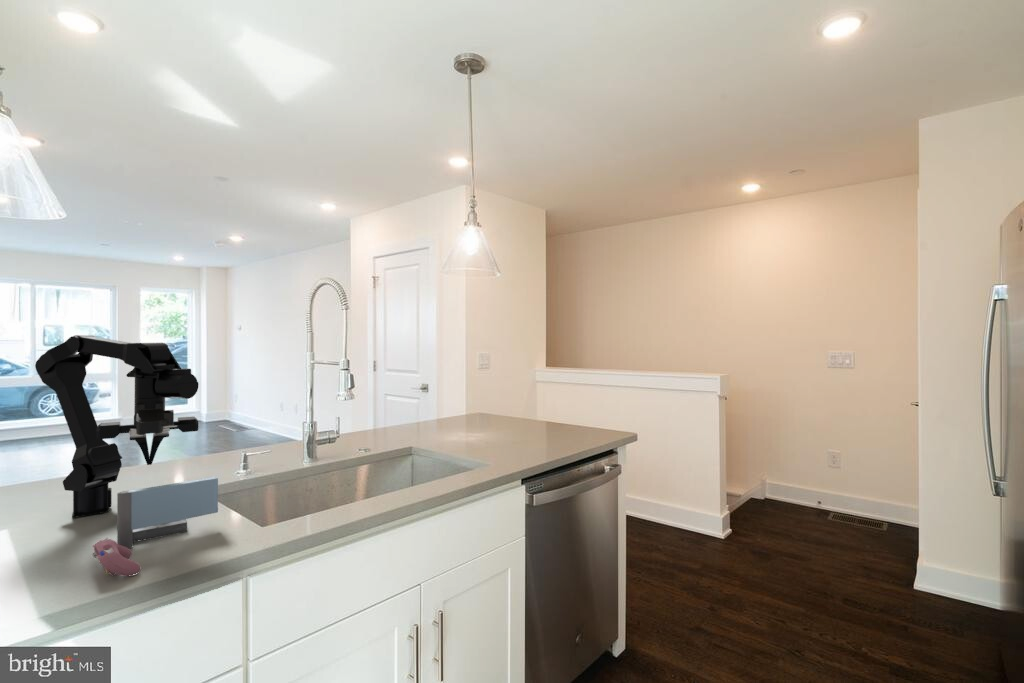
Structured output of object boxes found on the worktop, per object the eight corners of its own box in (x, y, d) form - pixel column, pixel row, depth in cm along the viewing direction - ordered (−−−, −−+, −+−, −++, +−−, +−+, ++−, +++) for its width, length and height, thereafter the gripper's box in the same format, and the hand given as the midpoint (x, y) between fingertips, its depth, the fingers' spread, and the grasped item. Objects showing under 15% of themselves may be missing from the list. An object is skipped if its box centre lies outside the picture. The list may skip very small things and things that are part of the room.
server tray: (121, 544, 100) (122, 533, 100) (123, 517, 114) (123, 508, 114) (187, 531, 107) (187, 521, 107) (180, 507, 121) (180, 498, 121)
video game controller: (106, 571, 92) (83, 543, 90) (133, 553, 95) (112, 525, 93) (114, 591, 85) (90, 560, 83) (144, 571, 88) (121, 541, 86)
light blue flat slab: (117, 551, 97) (117, 495, 97) (116, 547, 99) (116, 492, 99) (218, 528, 109) (218, 478, 108) (215, 525, 110) (215, 476, 110)
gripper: (94, 404, 103) (93, 479, 103) (200, 398, 114) (200, 466, 114) (98, 397, 112) (98, 467, 112) (196, 393, 123) (196, 456, 123)
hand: (149, 464), depth 115 cm, fingers closed
